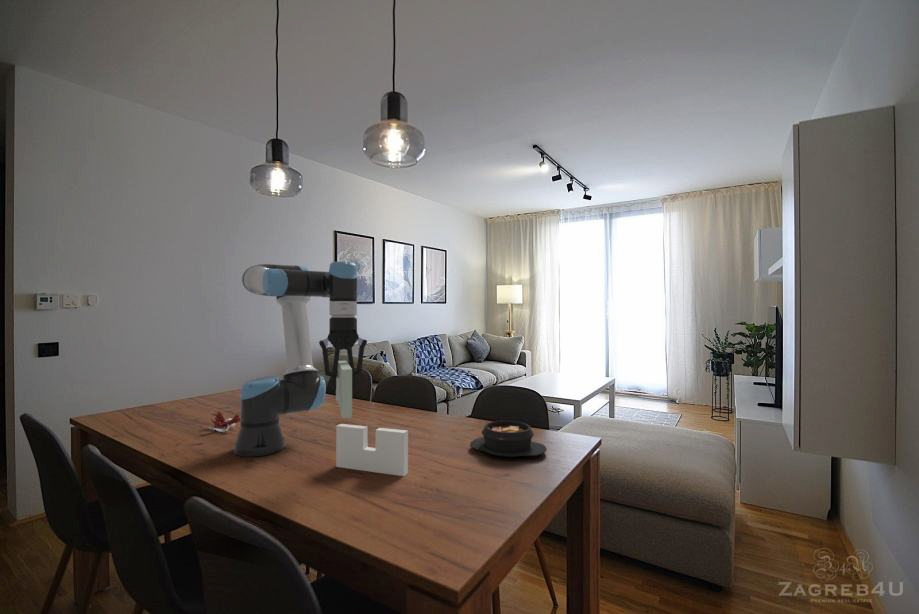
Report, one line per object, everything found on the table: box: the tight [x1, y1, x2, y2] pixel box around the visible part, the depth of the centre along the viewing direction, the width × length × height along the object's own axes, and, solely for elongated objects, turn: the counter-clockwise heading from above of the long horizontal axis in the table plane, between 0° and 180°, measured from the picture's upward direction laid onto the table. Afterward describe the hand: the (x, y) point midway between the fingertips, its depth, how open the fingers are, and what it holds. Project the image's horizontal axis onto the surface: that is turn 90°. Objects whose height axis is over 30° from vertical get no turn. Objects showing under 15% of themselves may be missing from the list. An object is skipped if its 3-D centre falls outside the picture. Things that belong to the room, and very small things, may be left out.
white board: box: [335, 423, 409, 477], centre depth 121 cm, size 22×2×12 cm, turn 72°
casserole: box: [469, 420, 547, 458], centre depth 137 cm, size 25×19×8 cm
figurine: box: [207, 410, 241, 433], centre depth 160 cm, size 15×12×7 cm
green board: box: [337, 360, 353, 419], centre depth 114 cm, size 20×2×12 cm, turn 19°
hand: (343, 399), depth 119 cm, fingers closed on green board, 2 cm apart
